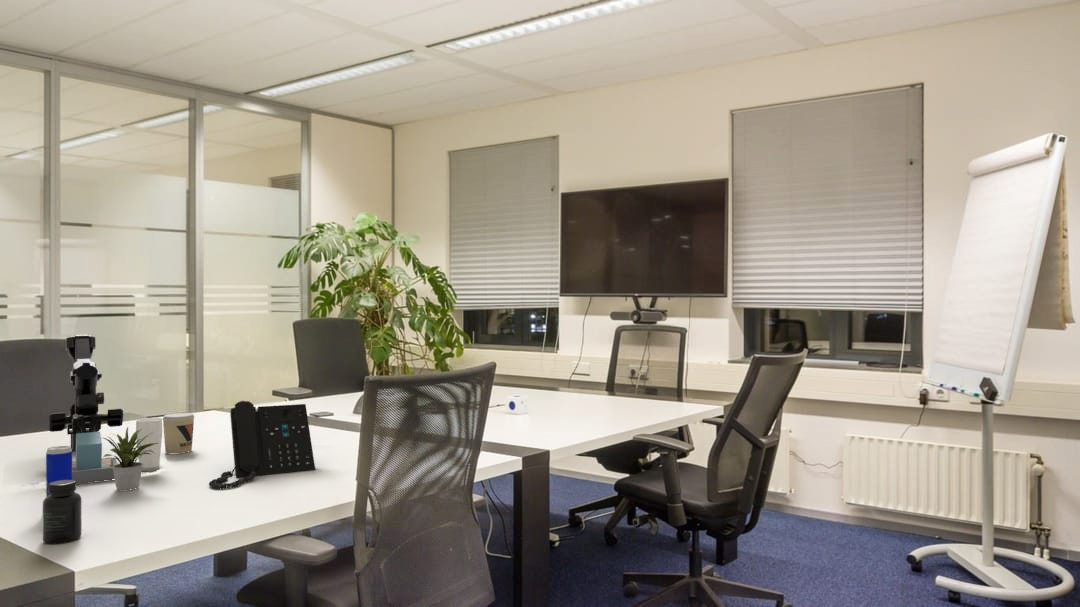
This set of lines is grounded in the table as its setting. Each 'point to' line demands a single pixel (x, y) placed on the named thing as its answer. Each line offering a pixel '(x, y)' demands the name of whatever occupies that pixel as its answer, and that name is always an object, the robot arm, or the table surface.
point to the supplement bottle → (62, 513)
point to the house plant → (128, 461)
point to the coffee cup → (178, 432)
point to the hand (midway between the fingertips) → (88, 443)
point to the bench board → (103, 462)
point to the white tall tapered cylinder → (146, 428)
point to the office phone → (268, 442)
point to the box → (94, 474)
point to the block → (88, 450)
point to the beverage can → (58, 465)
